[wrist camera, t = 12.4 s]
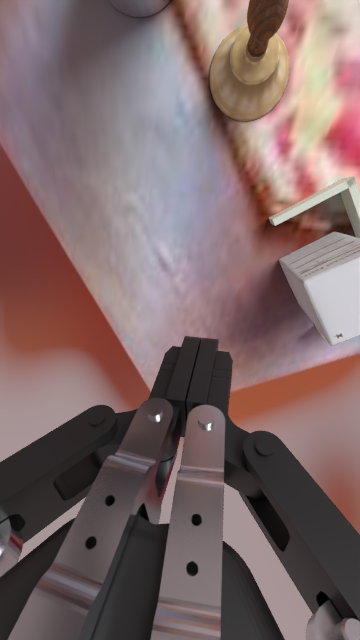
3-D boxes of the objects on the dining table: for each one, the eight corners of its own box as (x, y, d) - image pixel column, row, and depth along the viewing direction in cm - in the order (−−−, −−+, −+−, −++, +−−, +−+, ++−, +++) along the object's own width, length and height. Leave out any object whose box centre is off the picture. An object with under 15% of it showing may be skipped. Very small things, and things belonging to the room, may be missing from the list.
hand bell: (306, 68, 32) (382, -45, 17) (248, 138, 35) (269, 95, 20) (249, 3, 30) (278, -180, 16) (193, 82, 33) (173, -9, 19)
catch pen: (317, 329, 42) (324, 339, 39) (268, 217, 37) (272, 219, 35) (386, 301, 39) (398, 309, 37) (343, 178, 35) (353, 176, 32)
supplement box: (355, 281, 39) (413, 317, 27) (298, 306, 41) (330, 349, 29) (335, 228, 37) (388, 243, 25) (276, 257, 39) (301, 282, 27)
